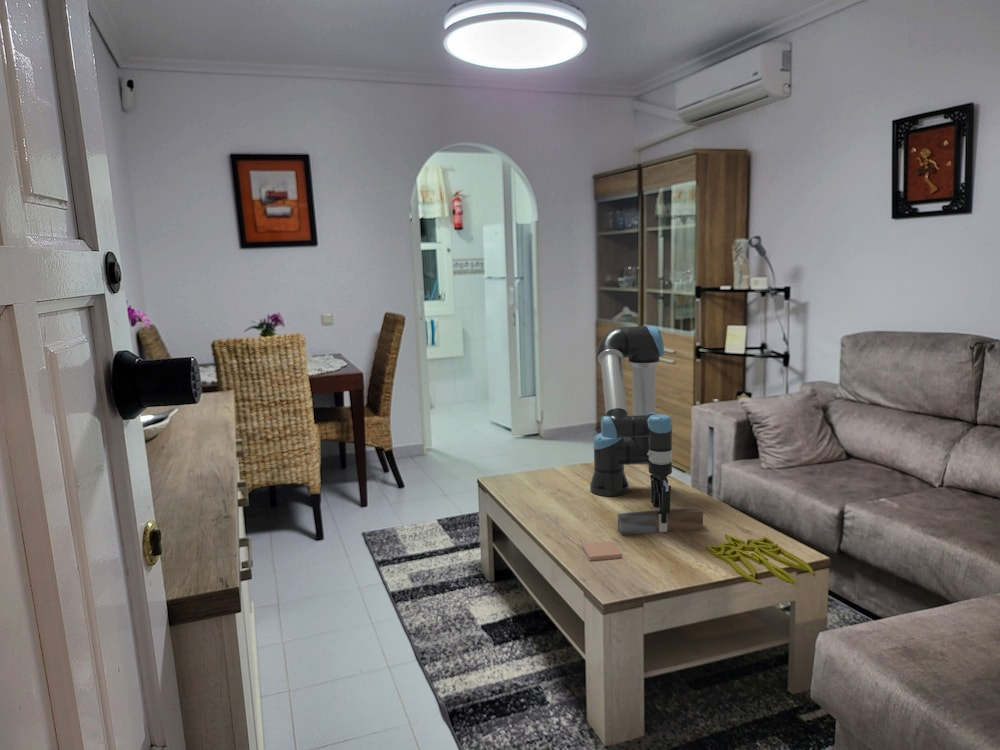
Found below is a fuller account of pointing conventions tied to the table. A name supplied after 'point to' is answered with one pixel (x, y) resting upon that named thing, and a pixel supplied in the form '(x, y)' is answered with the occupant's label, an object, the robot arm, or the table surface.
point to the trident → (757, 557)
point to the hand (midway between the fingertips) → (660, 528)
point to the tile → (601, 550)
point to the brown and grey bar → (650, 521)
